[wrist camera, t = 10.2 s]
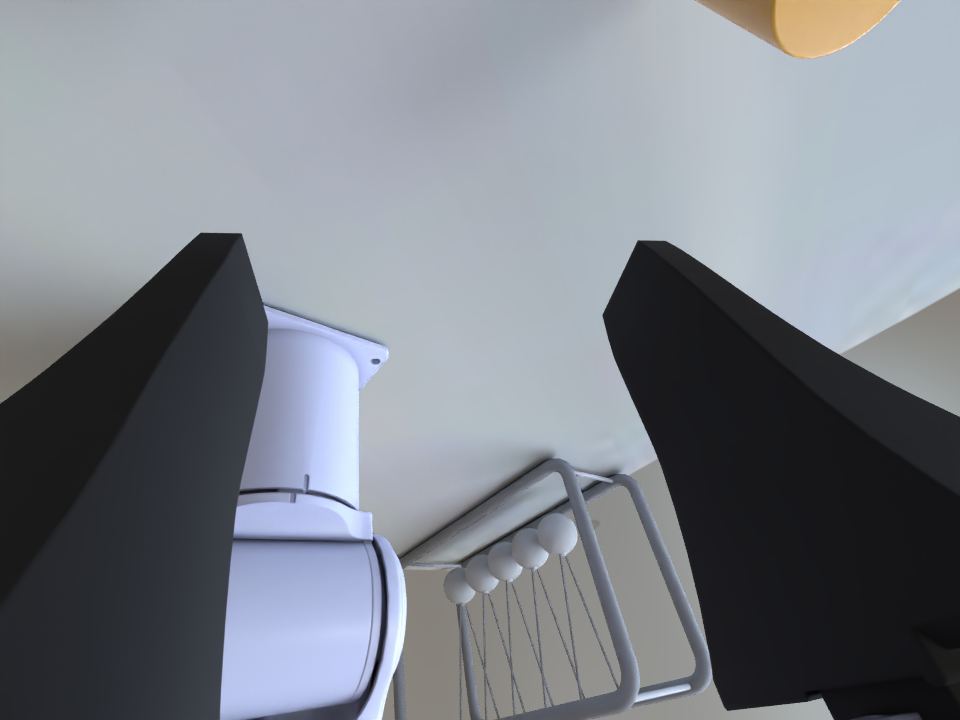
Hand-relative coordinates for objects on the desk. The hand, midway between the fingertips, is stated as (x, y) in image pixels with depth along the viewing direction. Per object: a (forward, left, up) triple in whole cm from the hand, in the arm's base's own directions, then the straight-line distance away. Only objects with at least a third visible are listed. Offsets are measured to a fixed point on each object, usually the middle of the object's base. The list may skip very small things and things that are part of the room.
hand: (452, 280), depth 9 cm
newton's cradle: (-32, -30, -11) cm, 45 cm away
